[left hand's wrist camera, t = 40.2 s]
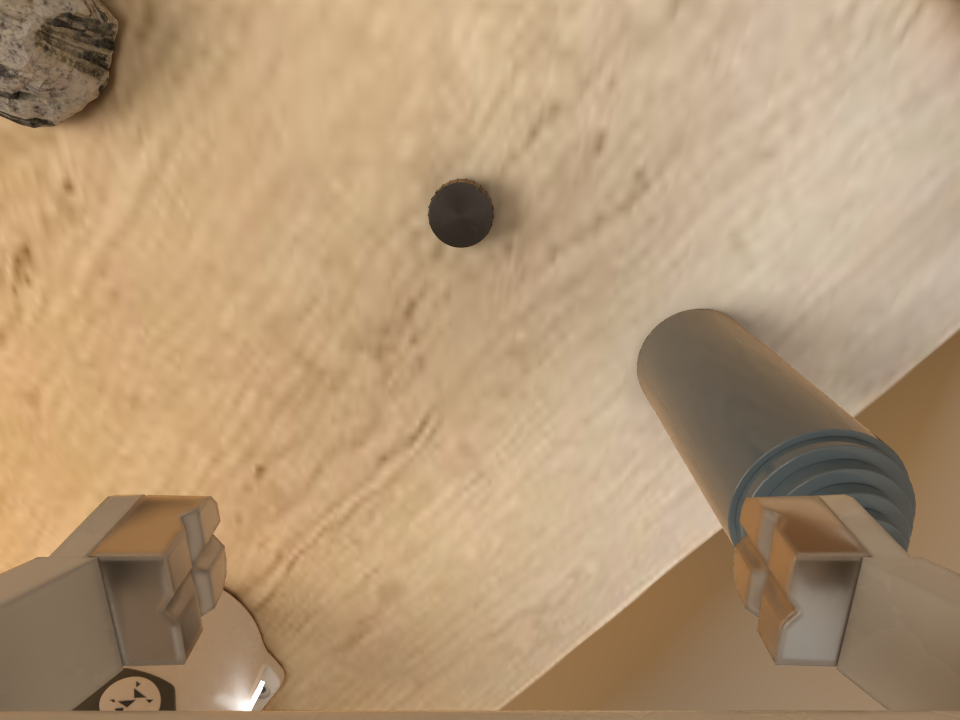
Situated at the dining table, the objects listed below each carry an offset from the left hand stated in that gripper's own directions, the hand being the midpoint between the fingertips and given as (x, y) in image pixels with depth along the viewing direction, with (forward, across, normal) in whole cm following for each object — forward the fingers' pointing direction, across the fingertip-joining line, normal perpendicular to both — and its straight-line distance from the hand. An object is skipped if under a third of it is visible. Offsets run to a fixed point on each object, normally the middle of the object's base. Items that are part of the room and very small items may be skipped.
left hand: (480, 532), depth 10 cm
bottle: (+36, +15, -11) cm, 40 cm away
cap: (+34, -1, 0) cm, 34 cm away
